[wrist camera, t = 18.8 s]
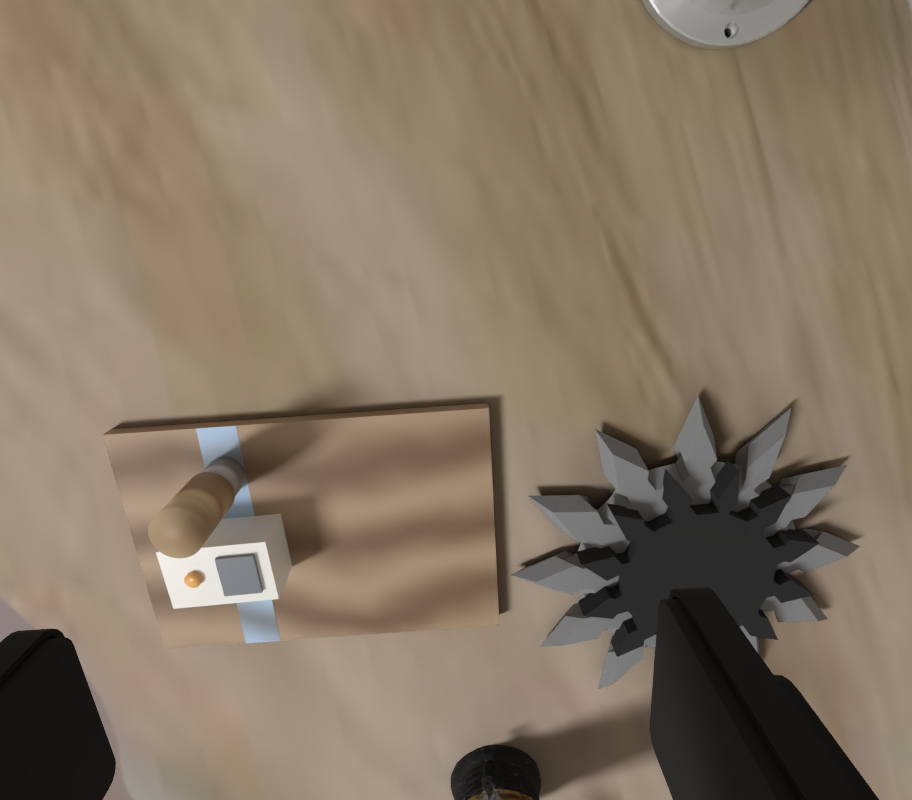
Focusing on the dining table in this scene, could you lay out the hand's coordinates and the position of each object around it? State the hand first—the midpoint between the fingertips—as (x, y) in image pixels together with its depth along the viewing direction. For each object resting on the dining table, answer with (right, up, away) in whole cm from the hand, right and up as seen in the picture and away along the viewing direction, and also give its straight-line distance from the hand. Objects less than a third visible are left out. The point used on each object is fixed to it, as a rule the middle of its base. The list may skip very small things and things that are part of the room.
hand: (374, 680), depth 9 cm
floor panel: (-10, -6, +37) cm, 38 cm away
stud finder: (-16, -7, +36) cm, 40 cm away
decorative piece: (+21, -9, +39) cm, 45 cm away
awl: (-16, -1, +33) cm, 37 cm away
